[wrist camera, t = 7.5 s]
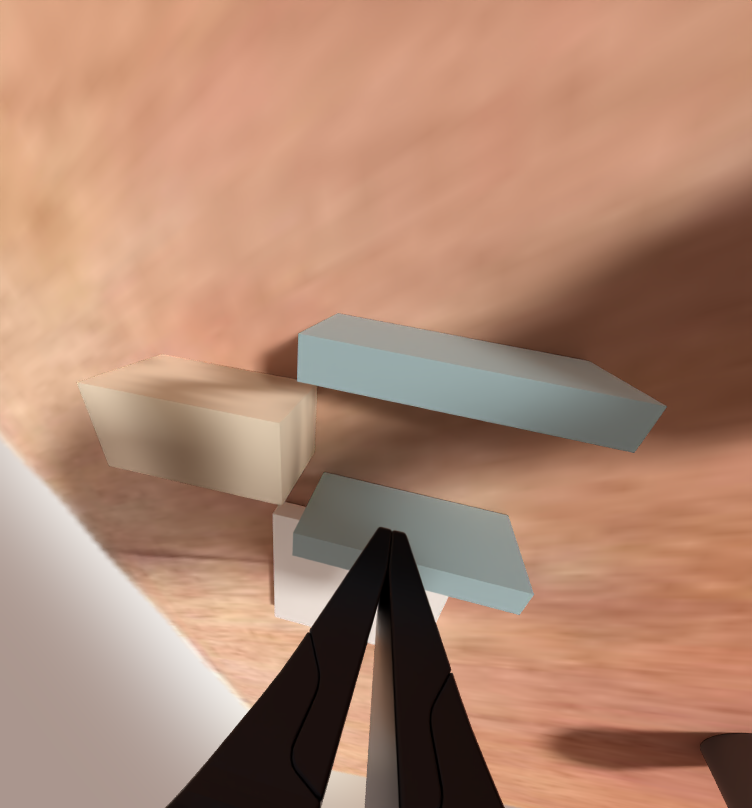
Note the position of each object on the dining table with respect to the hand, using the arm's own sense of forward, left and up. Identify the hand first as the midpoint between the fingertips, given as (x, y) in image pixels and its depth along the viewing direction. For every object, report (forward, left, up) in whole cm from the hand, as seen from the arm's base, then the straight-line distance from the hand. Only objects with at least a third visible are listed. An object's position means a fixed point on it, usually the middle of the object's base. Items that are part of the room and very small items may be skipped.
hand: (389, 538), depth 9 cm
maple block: (+8, 0, -6) cm, 10 cm away
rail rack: (-1, 0, -6) cm, 6 cm away
